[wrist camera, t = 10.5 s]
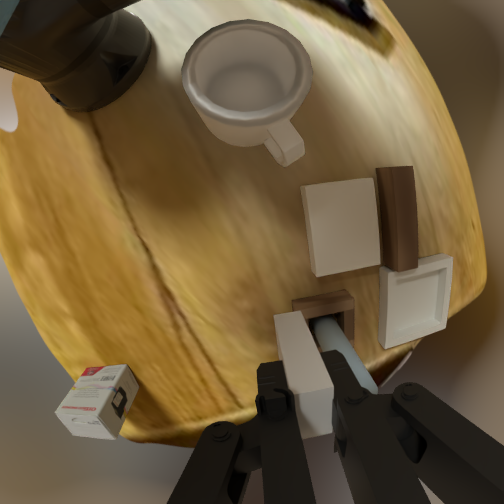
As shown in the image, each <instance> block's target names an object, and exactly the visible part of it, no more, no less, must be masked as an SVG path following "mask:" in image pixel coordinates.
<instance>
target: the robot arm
mask: <svg viewBox="0 0 504 504" xmlns="http://www.w3.org/2000/svg"><path fill="white" fill-rule="evenodd" d="M139 1H141V0H0V67H1V68H3V69H7V70H9V71H12V72H15V73H18V74H21V75H23V76H26V77H29V78H32V79H34V80H37V81H39V82H40V83H41V84H42V86H43V87H44V88H45V90H46V91H47V92H48V93H49V94H50V96H51V97H52V99H53V100H54V101H55V102H56V103H57V104H59V105H60V106H62V107H64V108H67V109H70V110H72V111H77V112H87V111H92V110H96V109H99V108H101V107H103V106H105V105H107V104H109V103H111V102H112V101H114V100H115V99H117V98H118V97H119V96H121V95H122V94H123V93H124V92H125V91H126V90H127V89H128V88H129V87H130V86H131V85H132V84H133V83H134V82H135V81H136V79H137V78H138V77H139V75H140V74H141V72H142V70H143V69H144V67H145V65H146V63H147V60H148V57H149V54H150V49H151V37H150V34H149V31H148V29H147V28H146V26H145V25H144V23H143V22H142V20H141V19H140V18H139V17H138V16H136V15H135V14H133V13H131V12H128V11H126V10H124V9H123V8H125V7H127V6H129V5H132V4H134V3H136V2H139ZM273 316H274V323H275V331H276V338H277V346H278V354H279V360H280V361H274V362H267V363H261V364H260V366H259V367H258V369H257V384H258V395H257V396H256V399H255V403H256V408H257V412H258V413H257V415H256V416H255V417H254V418H253V419H252V420H250V421H248V422H246V423H243V424H240V425H237V426H236V425H235V424H234V423H231V422H227V421H219V422H215V423H212V424H211V425H209V426H207V427H206V428H205V430H204V431H203V433H202V435H201V437H200V439H199V441H198V443H197V445H196V447H195V449H194V451H193V453H192V455H191V457H190V459H189V461H188V463H187V465H186V467H185V469H184V471H183V473H182V475H181V477H180V479H179V481H178V483H177V485H176V486H175V488H174V490H173V492H172V494H171V496H170V498H169V500H168V502H167V504H242V501H243V498H244V495H245V492H246V488H247V485H248V482H249V478H250V475H251V471H254V470H257V469H259V468H262V476H263V489H264V504H316V500H315V496H314V491H313V487H312V482H311V477H310V473H309V468H308V464H307V459H306V455H305V450H304V446H303V441H302V439H305V438H310V437H315V436H320V435H324V434H329V433H332V426H333V429H334V432H335V442H334V452H337V450H338V453H339V456H340V459H341V462H342V466H343V468H344V472H345V475H346V478H347V481H348V484H349V487H350V490H351V494H352V497H353V500H354V503H355V504H431V503H430V501H429V499H428V496H427V495H426V493H425V490H424V489H423V487H422V485H421V483H420V481H419V479H420V480H421V481H422V482H423V483H425V485H426V486H427V487H428V488H429V489H430V490H431V491H433V493H434V494H435V495H436V496H437V497H438V498H439V499H440V500H441V501H442V502H443V503H444V504H504V446H503V445H502V444H500V443H499V442H497V441H496V440H495V439H494V438H492V437H491V436H489V435H488V434H486V433H485V432H484V431H483V430H481V429H480V428H479V427H477V426H476V425H474V424H473V423H472V422H470V421H469V420H468V419H466V418H465V417H463V416H462V415H461V414H459V413H458V412H457V411H455V410H454V409H453V408H451V407H450V406H449V405H447V404H446V403H444V402H443V401H442V400H440V399H439V398H438V397H436V396H435V395H434V394H432V393H431V392H429V391H428V390H427V389H426V388H424V387H423V386H421V385H419V384H417V383H412V382H409V383H403V384H401V385H399V386H398V387H396V388H395V390H394V392H393V394H372V393H371V392H370V391H369V390H368V389H366V388H364V387H361V385H360V383H359V382H358V380H357V378H356V376H355V374H354V373H353V371H352V369H351V367H350V365H349V364H348V362H347V360H346V358H345V357H344V355H343V354H342V353H341V352H339V351H337V350H336V349H335V350H330V351H326V352H321V353H319V351H318V349H317V346H316V344H315V342H314V340H313V337H312V335H311V333H310V331H309V328H308V326H307V324H306V322H305V319H304V317H303V315H302V313H301V311H295V312H289V313H283V314H276V315H273ZM418 478H419V479H418Z"/></svg>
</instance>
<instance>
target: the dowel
mask: <svg viewBox="0 0 504 504" xmlns="http://www.w3.org/2000/svg"><path fill="white" fill-rule="evenodd" d="M310 325H311V327H312V329H313V331H314V333H315V336H316V338H317V340H318V342H319V344H320V346H321V349H322V351H323V352H326V351H330V350H335V349H336V350H337V351H339V352H341V353H342V354H343V355H344V357H345V358H346V360H347V362H348V364H349V365H350V367H351V369H352V371H353V373H354V374H355V376H356V378H357V380H358V382H359V383H360V385H361V387H364V388H366V389H368V390H369V391H370V392H371V393H372V394H377V393H378V387H377V386H376V384H375V382H374V381H373V379H372V378H371V376H370V374H369V373H368V371H367V369H366V368H365V366H364V365H363V363H362V361H361V360H360V358H359V357H358V355H357V353H356V352H355V350H354V349H353V347H352V345H351V344H350V342H349V341H348V339H347V338H346V336H345V334H344V333H343V331H342V330H341V328H340V327H339V325H338V324H337V322H336V320H335V319H334V317H333V316H332V314H328V315H323V316H318V317H313V318H310Z"/></svg>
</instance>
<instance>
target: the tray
mask: <svg viewBox="0 0 504 504" xmlns="http://www.w3.org/2000/svg"><path fill="white" fill-rule="evenodd" d="M452 268H453V257H451V256H449V255H447V254H444V253H440V254H436V255H432V256H428V257H423V258H419V259H418V268H416V269H411V270H407V271H403V272H399V273H398V272H396V271H395V270H393V269H392V268H390V267H388V266H382V267H379V280H380V290H379V327H378V341H379V343H380V344H381V345H382V346H383V348H384V349H387V348H391V347H394V346H397V345H400V344H403V343H406V342H409V341H412V340H415V339H418V338H421V337H423V336H426V335H429V334H431V333H434V332H437V331H439V330H442V329H444V328H446V322H447V316H448V308H449V301H450V292H451V281H452Z"/></svg>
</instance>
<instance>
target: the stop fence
mask: <svg viewBox="0 0 504 504" xmlns="http://www.w3.org/2000/svg"><path fill="white" fill-rule="evenodd" d="M376 174H377V182H378V191H379V200H380V211H381V225H382V242H383V264H385V265H387V266H388V267H390V268H392V269H393V270H395V271H396V272H398V273H399V272H403V271H407V270H411V269H416V268H418V218H417V202H416V190H415V180H414V171H413V166H400V167H385V168H376Z"/></svg>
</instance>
